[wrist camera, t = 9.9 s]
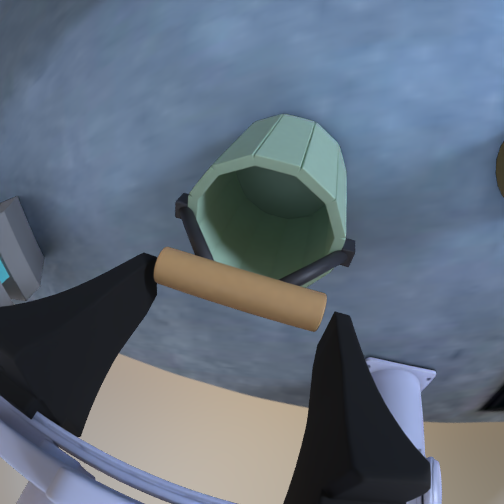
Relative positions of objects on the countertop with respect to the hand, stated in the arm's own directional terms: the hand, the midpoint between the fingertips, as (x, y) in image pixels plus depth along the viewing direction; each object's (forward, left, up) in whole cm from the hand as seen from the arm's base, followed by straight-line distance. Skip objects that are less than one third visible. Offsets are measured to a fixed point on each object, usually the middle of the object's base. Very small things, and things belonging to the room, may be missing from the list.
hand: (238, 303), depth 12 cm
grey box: (-12, +31, -10) cm, 35 cm away
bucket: (+2, 0, -10) cm, 10 cm away
